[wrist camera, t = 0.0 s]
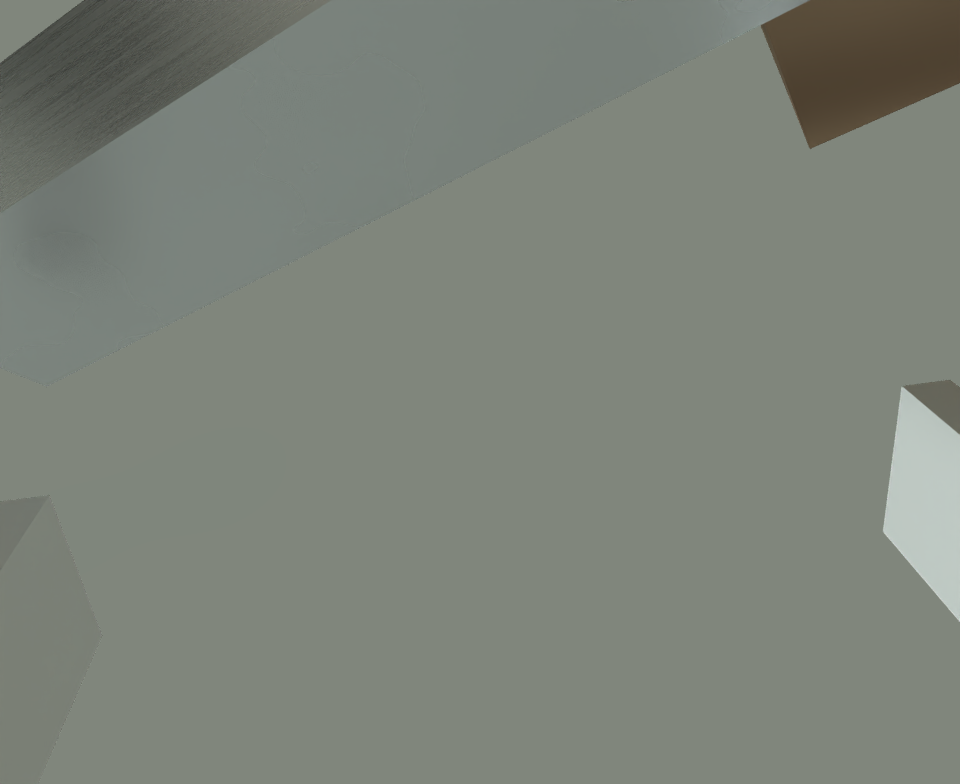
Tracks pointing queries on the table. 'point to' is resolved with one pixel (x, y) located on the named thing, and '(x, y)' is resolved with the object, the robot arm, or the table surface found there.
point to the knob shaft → (275, 137)
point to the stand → (863, 59)
